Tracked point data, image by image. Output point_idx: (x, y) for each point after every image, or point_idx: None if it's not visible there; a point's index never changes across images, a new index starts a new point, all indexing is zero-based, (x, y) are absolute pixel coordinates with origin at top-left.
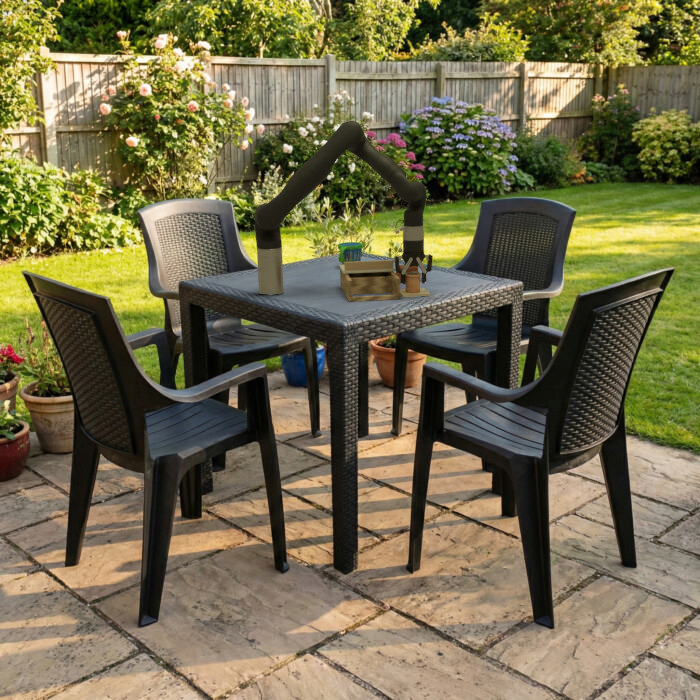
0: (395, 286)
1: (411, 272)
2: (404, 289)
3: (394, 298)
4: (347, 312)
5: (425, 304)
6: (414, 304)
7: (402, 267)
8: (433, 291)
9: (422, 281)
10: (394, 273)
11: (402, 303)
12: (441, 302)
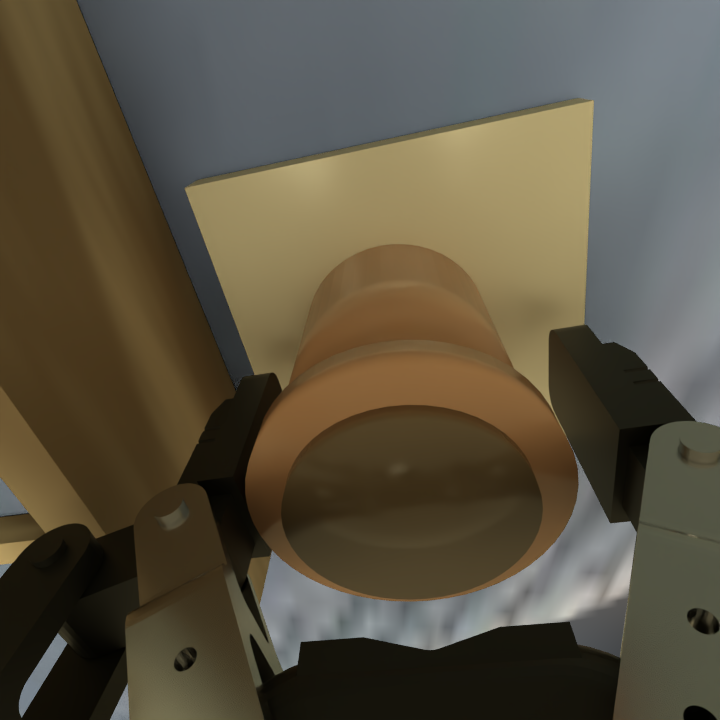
0: None
1: (382, 508)
2: (281, 192)
3: None
4: None
5: (473, 627)
6: (397, 623)
7: (141, 602)
8: (703, 143)
9: (559, 403)
10: (15, 433)
11: (311, 600)
12: (604, 594)
